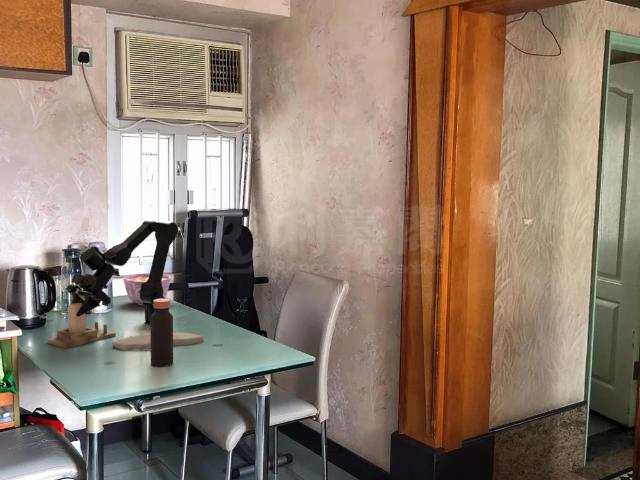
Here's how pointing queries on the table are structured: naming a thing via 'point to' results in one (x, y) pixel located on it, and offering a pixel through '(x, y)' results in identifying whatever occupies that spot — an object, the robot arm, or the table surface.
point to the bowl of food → (135, 283)
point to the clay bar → (76, 319)
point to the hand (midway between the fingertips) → (73, 315)
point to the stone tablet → (145, 341)
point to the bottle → (161, 334)
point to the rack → (80, 336)
